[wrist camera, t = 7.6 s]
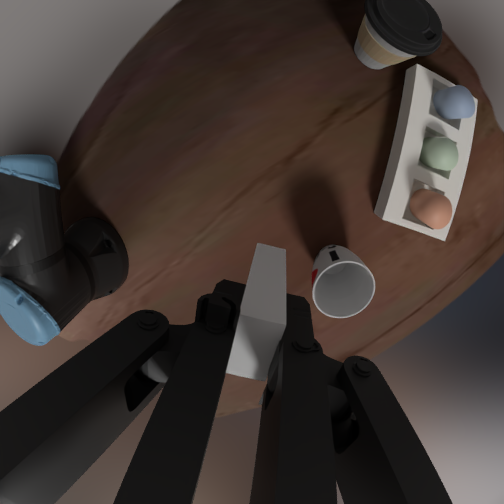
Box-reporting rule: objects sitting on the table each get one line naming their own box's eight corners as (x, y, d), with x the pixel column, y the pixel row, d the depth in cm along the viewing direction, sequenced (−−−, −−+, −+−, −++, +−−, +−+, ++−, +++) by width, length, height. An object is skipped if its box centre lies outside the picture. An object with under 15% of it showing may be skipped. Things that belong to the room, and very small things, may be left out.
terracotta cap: (405, 214, 35) (420, 223, 30) (414, 184, 33) (431, 190, 28) (429, 223, 35) (445, 233, 30) (438, 194, 33) (456, 201, 28)
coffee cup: (391, 90, 31) (441, 67, 17) (334, 62, 31) (360, 20, 17) (405, 45, 28) (451, 12, 14) (351, 17, 28) (378, -31, 14)
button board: (373, 212, 38) (382, 219, 35) (406, 69, 30) (417, 63, 26) (433, 233, 38) (444, 241, 35) (464, 101, 29) (477, 99, 26)
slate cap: (431, 111, 29) (448, 108, 24) (434, 84, 27) (452, 79, 22) (454, 124, 29) (473, 123, 24) (458, 98, 27) (476, 95, 22)
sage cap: (414, 160, 34) (430, 163, 29) (420, 132, 32) (437, 132, 27) (437, 171, 34) (454, 175, 29) (443, 144, 32) (461, 145, 27)
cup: (330, 224, 40) (343, 248, 31) (366, 256, 41) (387, 285, 32) (296, 264, 43) (299, 296, 34) (333, 292, 44) (344, 328, 35)
